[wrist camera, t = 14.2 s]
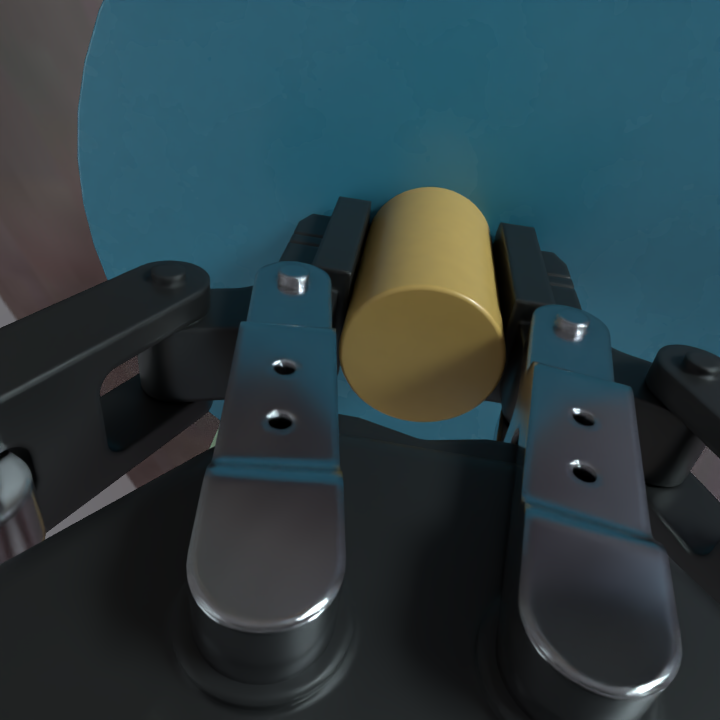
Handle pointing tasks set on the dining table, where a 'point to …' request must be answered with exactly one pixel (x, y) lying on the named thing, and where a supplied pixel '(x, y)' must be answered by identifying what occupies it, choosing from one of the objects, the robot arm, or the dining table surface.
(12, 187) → the dining table surface
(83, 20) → the dining table surface
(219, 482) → the robot arm
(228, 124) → the tin lid
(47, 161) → the dining table surface
